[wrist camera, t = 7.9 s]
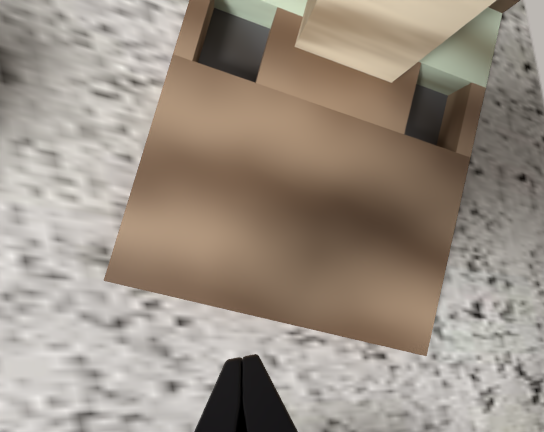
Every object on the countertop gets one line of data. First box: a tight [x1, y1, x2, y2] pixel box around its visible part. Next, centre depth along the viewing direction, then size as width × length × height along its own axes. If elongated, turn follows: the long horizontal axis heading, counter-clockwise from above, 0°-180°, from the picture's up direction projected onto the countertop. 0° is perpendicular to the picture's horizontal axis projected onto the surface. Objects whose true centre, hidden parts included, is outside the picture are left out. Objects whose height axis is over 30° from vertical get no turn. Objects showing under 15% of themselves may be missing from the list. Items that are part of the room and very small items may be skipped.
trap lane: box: [104, 0, 520, 356], centre depth 21 cm, size 22×18×4 cm
